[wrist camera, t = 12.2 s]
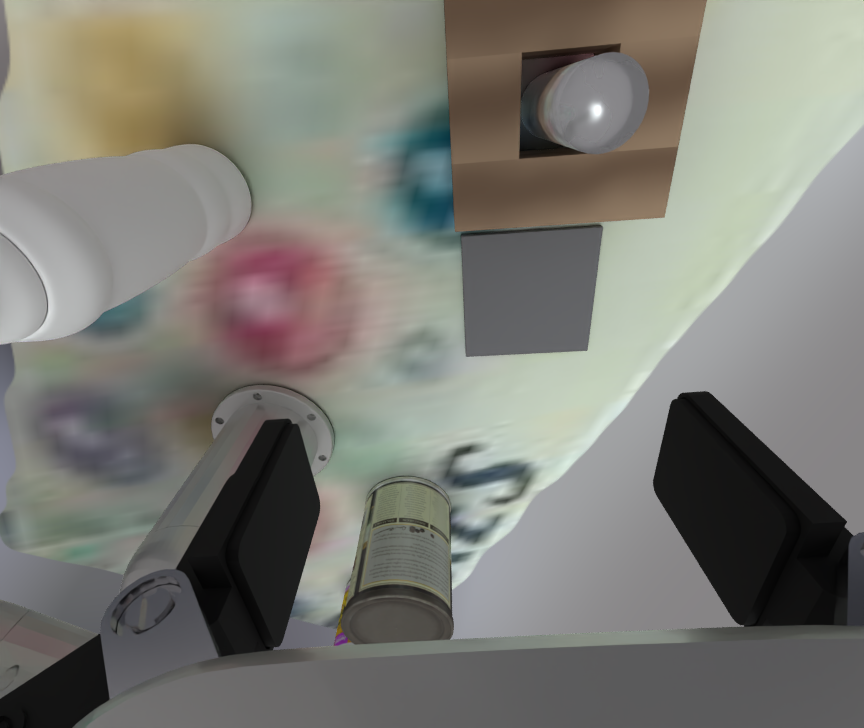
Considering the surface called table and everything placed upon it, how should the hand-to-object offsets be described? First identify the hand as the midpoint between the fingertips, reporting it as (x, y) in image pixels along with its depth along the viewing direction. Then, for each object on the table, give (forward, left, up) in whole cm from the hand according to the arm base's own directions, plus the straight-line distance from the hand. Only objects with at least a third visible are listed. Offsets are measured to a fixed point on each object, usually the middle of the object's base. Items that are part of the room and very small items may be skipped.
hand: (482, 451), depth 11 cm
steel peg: (+7, -7, -27) cm, 29 cm away
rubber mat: (-7, -6, -27) cm, 28 cm away
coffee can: (-33, +7, -27) cm, 43 cm away
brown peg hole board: (+7, -7, -27) cm, 29 cm away
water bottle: (+3, +19, -27) cm, 33 cm away
